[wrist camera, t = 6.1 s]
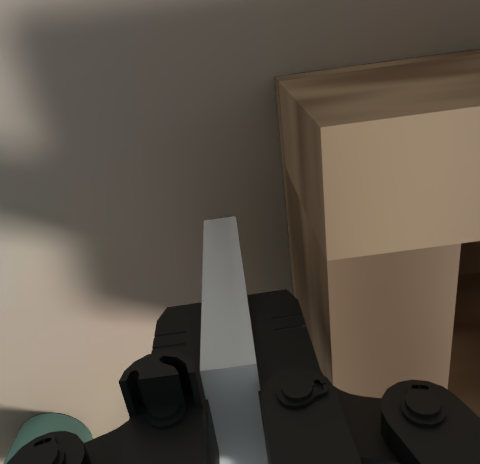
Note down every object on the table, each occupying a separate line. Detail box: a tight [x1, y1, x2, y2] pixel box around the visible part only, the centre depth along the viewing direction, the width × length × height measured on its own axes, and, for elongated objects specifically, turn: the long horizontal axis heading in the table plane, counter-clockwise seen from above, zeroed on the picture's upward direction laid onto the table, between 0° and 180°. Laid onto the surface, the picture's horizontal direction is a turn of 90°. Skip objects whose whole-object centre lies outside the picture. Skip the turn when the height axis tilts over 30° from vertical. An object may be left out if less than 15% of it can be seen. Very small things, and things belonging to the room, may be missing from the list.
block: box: [275, 49, 480, 418], centre depth 13 cm, size 10×10×7 cm
